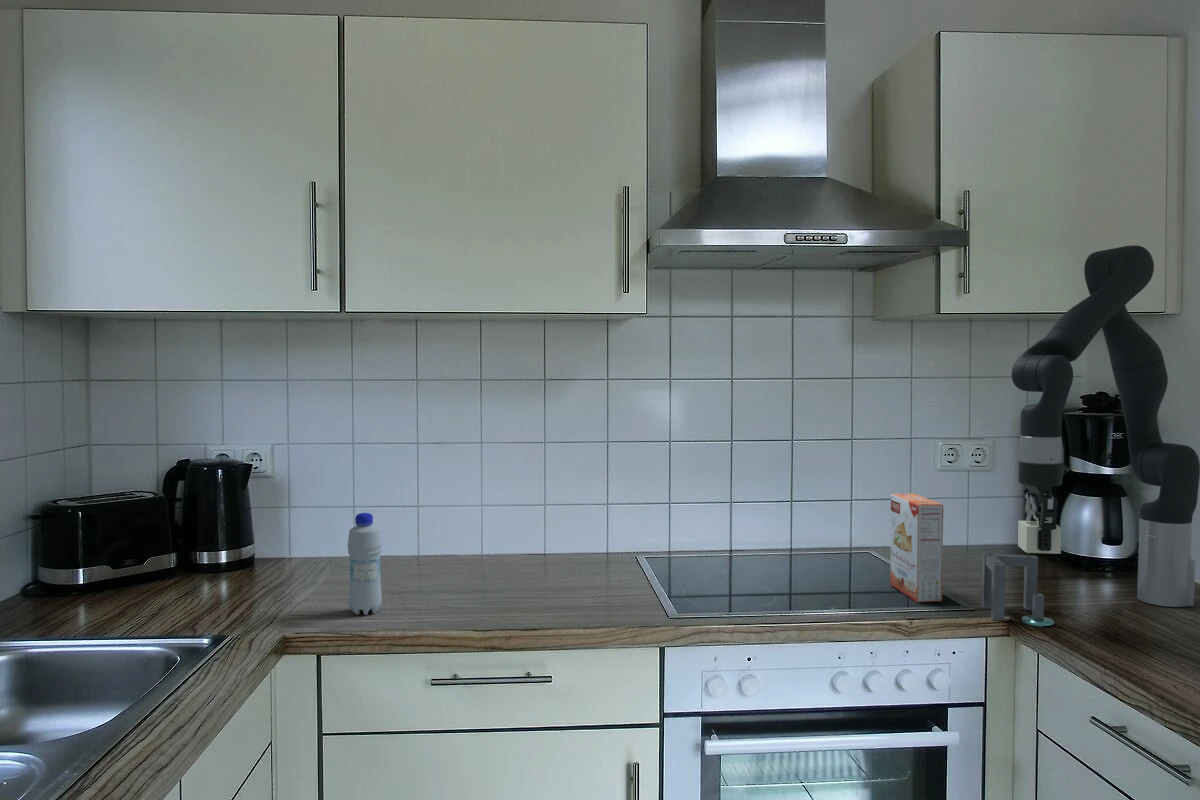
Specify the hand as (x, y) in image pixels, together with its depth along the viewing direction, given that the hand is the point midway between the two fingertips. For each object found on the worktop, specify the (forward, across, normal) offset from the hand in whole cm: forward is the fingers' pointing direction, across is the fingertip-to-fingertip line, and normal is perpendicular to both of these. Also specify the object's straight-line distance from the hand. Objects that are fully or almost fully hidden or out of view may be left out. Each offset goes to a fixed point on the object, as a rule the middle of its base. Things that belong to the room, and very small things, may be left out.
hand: (1039, 546), depth 168 cm
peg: (+15, 0, 0) cm, 15 cm away
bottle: (+14, -20, +130) cm, 132 cm away
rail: (+15, +5, +3) cm, 16 cm away
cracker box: (+15, +17, +20) cm, 30 cm away
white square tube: (+1, 0, 0) cm, 1 cm away
